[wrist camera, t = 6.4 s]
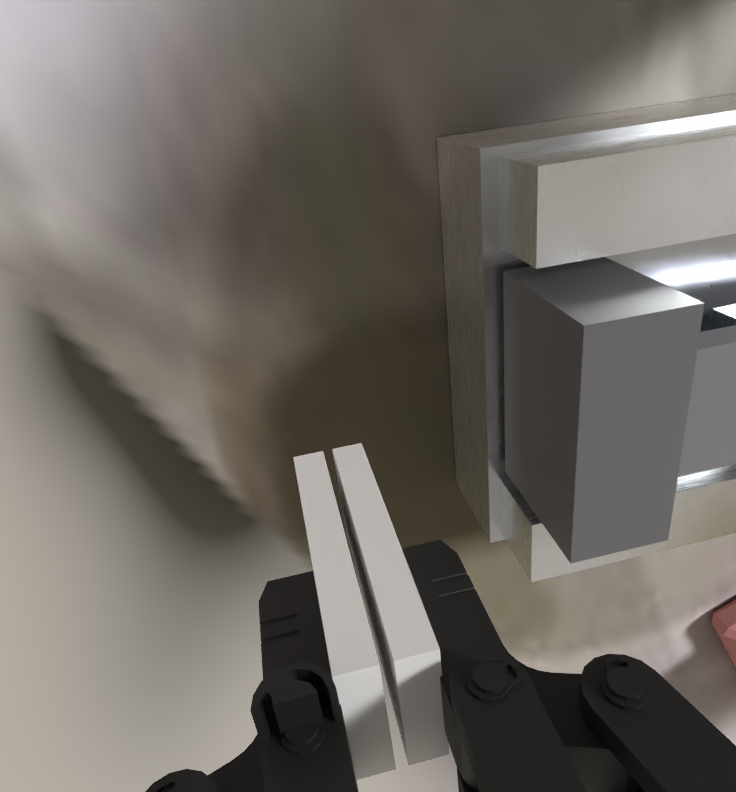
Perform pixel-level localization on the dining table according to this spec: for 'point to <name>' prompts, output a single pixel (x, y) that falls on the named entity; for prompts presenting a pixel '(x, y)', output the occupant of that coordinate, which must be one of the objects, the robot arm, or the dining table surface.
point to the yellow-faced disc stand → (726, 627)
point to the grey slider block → (610, 401)
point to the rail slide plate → (571, 242)
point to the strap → (723, 317)
